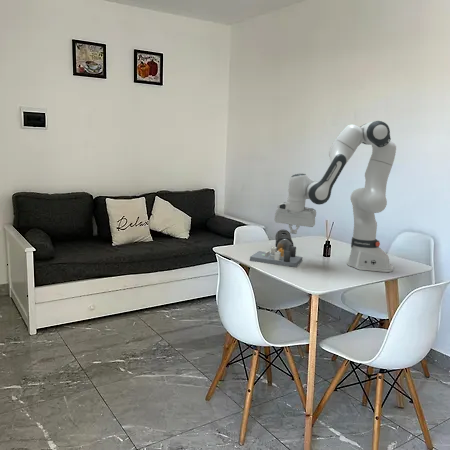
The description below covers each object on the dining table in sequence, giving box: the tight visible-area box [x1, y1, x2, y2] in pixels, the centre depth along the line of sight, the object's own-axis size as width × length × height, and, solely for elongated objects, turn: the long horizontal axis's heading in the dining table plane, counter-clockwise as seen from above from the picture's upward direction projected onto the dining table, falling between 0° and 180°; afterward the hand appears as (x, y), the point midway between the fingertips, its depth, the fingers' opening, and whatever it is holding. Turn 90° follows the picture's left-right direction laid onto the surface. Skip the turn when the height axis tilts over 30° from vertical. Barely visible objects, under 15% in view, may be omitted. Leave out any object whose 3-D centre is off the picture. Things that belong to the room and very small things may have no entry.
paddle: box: [278, 248, 284, 257], centre depth 235 cm, size 2×4×4 cm, turn 157°
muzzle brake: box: [274, 229, 295, 251], centre depth 254 cm, size 10×28×10 cm, turn 174°
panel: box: [249, 245, 304, 268], centre depth 236 cm, size 24×14×7 cm, turn 67°
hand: (293, 233), depth 230 cm, fingers closed
